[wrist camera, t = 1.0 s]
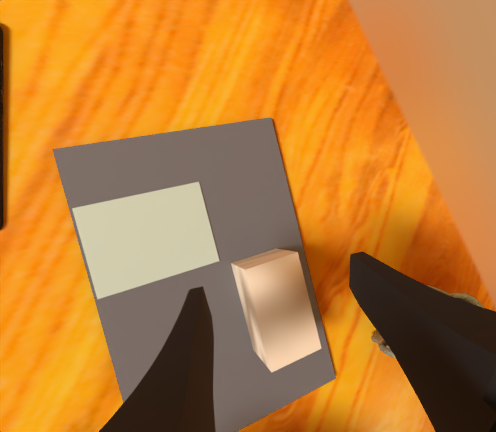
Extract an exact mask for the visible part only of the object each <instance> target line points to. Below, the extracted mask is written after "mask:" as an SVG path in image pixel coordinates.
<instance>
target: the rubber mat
mask: <svg viewBox="0 0 496 432" xmlns="http://www.w3.org/2000/svg"><path fill="white" fill-rule="evenodd" d="M53 153H54V156H55V160H56V163H57V167H58V170H59V174H60V178H61V181H62V185H63V188H64V192H65V195H66V199H67V203H68V206H69V210H70V213H71V217H72V220H73V224H74V228H75V231H76V235H77V238H78V242H79V245H80V249H81V252H82V256H83V260H84V263H85V267H86V270H87V274H88V277H89V281H90V285H91V288H92V292H93V295H94V299H95V302H96V306H97V310H98V313H99V317H100V320H101V324H102V327H103V331H104V335H105V338H106V342H107V345H108V349H109V352H110V356H111V359H112V363H113V367H114V370H115V374H116V377H117V381H118V384H119V388H120V392H121V395H122V399H123V402H125V401H126V399H127V398H128V397H129V396H130V394H131V393H132V392H133V391H134V389H135V388H136V387H137V385H138V384H139V383H140V381H141V380H142V378H143V377H144V375H145V374H146V373H147V371H148V370H149V368H150V367H151V365H152V364H153V362H154V360H155V359H156V357H157V356H158V354H159V352H160V351H161V349H162V347H163V345H164V344H165V342H166V340H167V338H168V336H169V334H170V332H171V330H172V328H173V326H174V324H175V322H176V320H177V318H178V316H179V313H180V311H181V309H182V306H183V304H184V301H185V299H186V296H187V293H188V291H189V290H190V289H193V288H197V287H202V286H203V288H204V292H205V295H206V298H207V302H208V305H209V308H210V312H211V315H212V322H213V332H214V368H213V402H214V416H215V430H216V432H237V431H239V430H241V429H243V428H244V427H246V426H248V425H250V424H252V423H254V422H256V421H257V420H259V419H261V418H263V417H265V416H267V415H269V414H270V413H272V412H274V411H276V410H278V409H280V408H282V407H283V406H285V405H287V404H289V403H291V402H293V401H295V400H296V399H298V398H300V397H302V396H304V395H306V394H308V393H310V392H311V391H313V390H315V389H317V388H319V387H321V386H323V385H324V384H326V383H328V382H330V381H332V380H334V379H336V377H335V373H334V369H333V365H332V361H331V357H330V353H329V349H328V345H327V341H326V337H325V333H324V329H323V325H322V320H321V316H320V312H319V308H318V304H317V300H316V296H315V292H314V288H313V284H312V280H311V276H310V272H309V268H308V264H307V260H306V256H305V252H304V248H303V244H302V240H301V235H300V231H299V227H298V223H297V219H296V215H295V211H294V207H293V203H292V199H291V195H290V191H289V187H288V183H287V179H286V175H285V171H284V167H283V163H282V159H281V154H280V150H279V146H278V142H277V138H276V134H275V130H274V126H273V122H272V118H264V119H257V120H251V121H244V122H237V123H230V124H223V125H216V126H210V127H203V128H196V129H189V130H182V131H175V132H168V133H162V134H155V135H148V136H141V137H134V138H127V139H121V140H114V141H107V142H100V143H93V144H86V145H79V146H73V147H66V148H59V149H53ZM273 249H282V250H288V251H294V252H298V255H299V259H300V263H301V267H302V271H303V275H304V280H305V284H306V288H307V292H308V296H309V300H310V304H311V308H312V312H313V316H314V320H315V324H316V328H317V332H318V336H319V340H320V344H321V348H322V349H320V350H317V351H315V352H313V353H311V354H309V355H307V356H305V357H303V358H301V359H299V360H297V361H295V362H293V363H291V364H289V365H287V366H284V367H282V368H280V369H278V370H276V371H274V372H271V371H270V370H269V369H268V367H267V366H266V365H265V364H264V362H263V361H262V360H261V359H260V358H259V356H258V355H257V354H256V353H255V351H254V350H253V346H252V342H251V338H250V335H249V331H248V327H247V323H246V319H245V315H244V311H243V307H242V304H241V300H240V296H239V292H238V288H237V284H236V280H235V276H234V273H233V269H232V265H231V263H233V262H236V261H239V260H242V259H246V258H249V257H252V256H255V255H258V254H261V253H264V252H267V251H270V250H273Z"/></svg>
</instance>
